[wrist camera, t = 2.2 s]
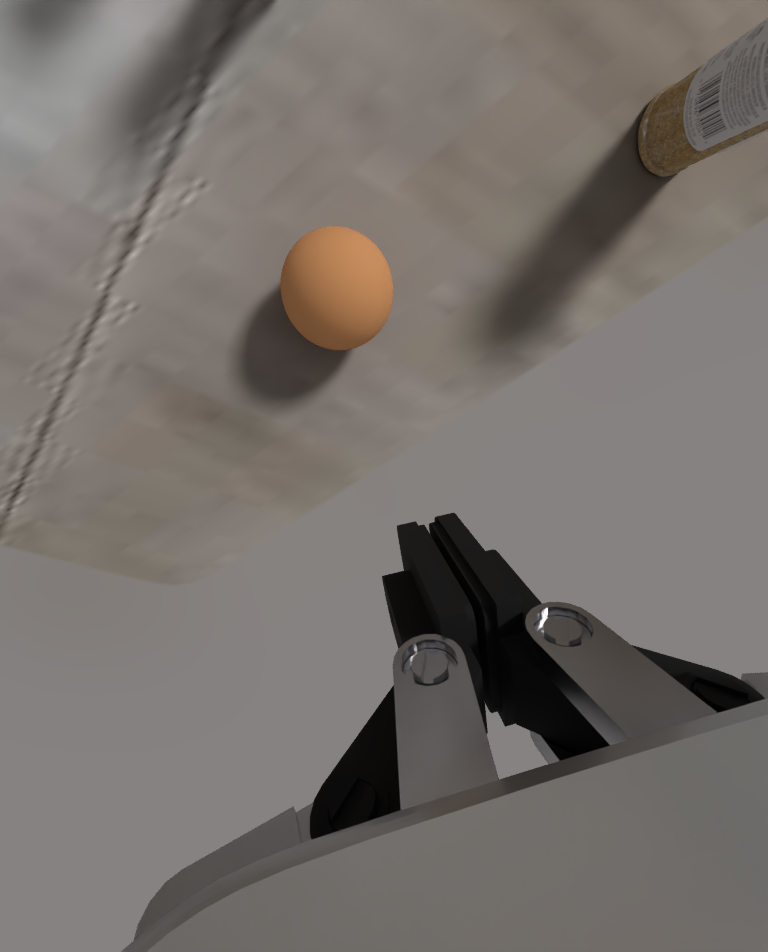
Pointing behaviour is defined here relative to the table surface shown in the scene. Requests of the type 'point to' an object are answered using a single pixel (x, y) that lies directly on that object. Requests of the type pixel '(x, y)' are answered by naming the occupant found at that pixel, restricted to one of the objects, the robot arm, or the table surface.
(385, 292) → the ball
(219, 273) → the table surface
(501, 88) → the table surface
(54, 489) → the table surface
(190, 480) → the table surface
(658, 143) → the sprinkles bottle
